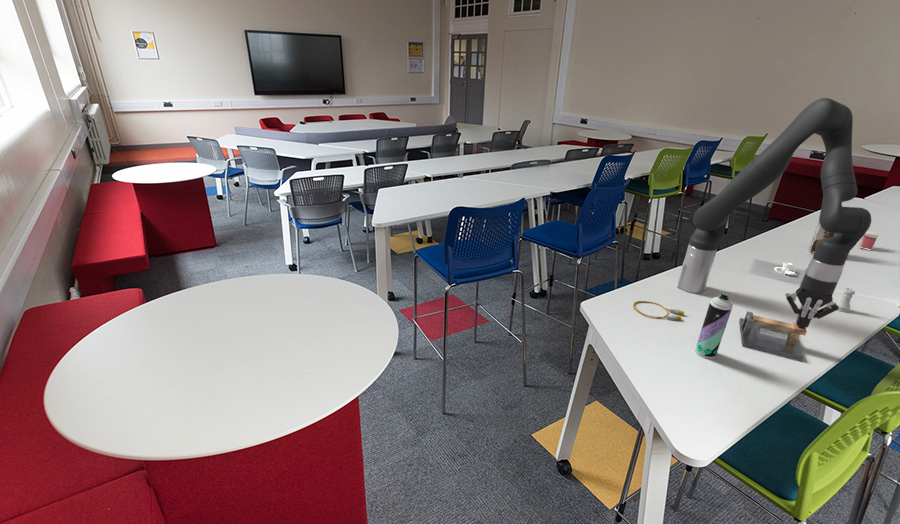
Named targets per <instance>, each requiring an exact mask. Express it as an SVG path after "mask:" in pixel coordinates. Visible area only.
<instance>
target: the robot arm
mask: <svg viewBox="0 0 900 524" xmlns="http://www.w3.org/2000/svg"><path fill="white" fill-rule="evenodd" d="M853 119H854V118H853V113H852V110H851V109H850V108H849V107H848V106H847V105H845V104H843V103H841V102H838V101H836V100H834V99H832V98H828V97H822V98H819V99H816V100H814V101H812V102H811V103H810V104H808V105H807V106H806V107H805V108H804V109H803V110H802V111H801V112H800V113H799V114H798V115H797V116H796V117H795V118H794V119H793V120H792V122H791V123H789V125H787V127H786V128H785V129H784V130H783V131H782V132H781V133H780V135H778V137H776V138H775V139H774V140H773V141H772V142H771V143H770V144H769V145H768V146H767V147H766V148H765V149H764V150H763V151H762V152H760V153H759V154H758V155H757V156H756V157H754V158H753V159H752V160H751V161H750V162H749V163H747V165H746V166H744V167H743V168H742V169H741V171H740V172H739V173H738V174H736V175H735V176H734V178H732V179H731V181H730V182H729V183H728V184H727V185H726V186H725V187H724V188H723V189H722V190H721V191H720V192H719V193H718V194H717V195H715V196H714V197H712V198H711V199H710V200H709V201H707V202H706V203H704V204H703V205H701V206H700V207H699V208H698V209H697V210H696V211H695V212H694V215H693V217H692V219H693V220H692V221H693V222H692V223H693V225H694V228H695V227H696V228H695V230H694V232H693V234H692V235H691V236H690V238H689V242H688V246H687V250H686V253H685V257H684V260H683V262H682V266H681V270H680V273H679V277H678V281H677V288H678V289H680V290H683V291H685V292H689V293H691V294H702V293H704V292H705V290H706V287H707V283H708V280H709V277H710V273H711V271H712V268H713V263H714V261H715V258H716V254H717V252H718V251H717V250H718V248H719V245H720V243H721V241H722V240H723V237H724V234H725V231H726V228H727V224H728V222H729V218H730V215H731V214H732V213H733V212H734V211H735V210H736V209H737V208H739V207H740V206H742V205H743V204H744V203H746V202H747V201H749V200H751V199H752V198H754V197H755V196H757V195H758V194H760V193H762V191H764V190H765V189H766V188H768V187H770V186H771V184H773V183H774V182H776V180H778V179H779V178H780V177H781V176H782V175H783V174H784V173H785V171H786V169H787V168H788V166H789V164H790V162H791V159H792V157H793V156H794V153H796V151H797V149H798V148H799V147H800V146H801V145H802V144H803V143H804V142H805V141H806V140H808V139H809V138H810V137H811V136H813V135H814V134H815V135H817V136H820V137H821V139H822V141H823V145H824V150H825V154H824V155H825V156H824V160H823V163H822V165H821V169H820V182H821V189H822V195H823V197H822V202H821V208H820V212H819V216H818V217H819V218H818V222H820V225H821V227H822V228H823V229H824V230H825V231H827V232H832V233H838V234H837V235H836V236H834V237H831V238H826V239H822V240H821V241H820V242H819V243H818V245H817V248H816V250H815V253H814V255H813V254H812V257H811V260H810V261H809V262H808V265H807V267H806V269H805V274H804V276H803V278H802V280H801V283H800V286H799V288H798V289H796V290H795V292H793V293H789V292H788V293H785V298H786V301H787V302H788V304H789V306H790V307H791V309H792V311H793V313H794V314H796V315H798V316H797V318H796V321H795V323H796V324H797V326H798V327H799V328H802V329H805V328H806V329H807V328H808V327H809V326H810V324H811V321H812V320H813V319H819V320H820V319H823V318H824V317H826V316H828V315H830V314H833V313H834V312H836V311H839V310H838V309H839V307H838V305H837V304H836V302H834V301H833V295H834V293H835V290H836V287H837V285H838V283H839V281H840V279H841V276H842V273H843V269H844V266H845V264H846V261H847V258H848V257H849V254H850V252H851V251H852V249H853V248H854V247H855V246H856V245H857V244H858V243H859V242H860V241H861V240H862V238H863V235H864V234H865V233H866V232H867V231H869V228H870V227H871V224H872V215H871V212H870V211H869V210H868V209H866V208H864V207H852V206H843V203H844V202H849V201H851V200H853V199H855V198H856V197H857V195H858V185H857V181H856V175H855V171H854V165H853V149H852V148H853V145H852V143H853V127H854V126H853V125H854V124H853V123H854V121H853ZM797 299H798V301H799V303H800V308H799V307H798V305H797V303H796V300H797Z"/></svg>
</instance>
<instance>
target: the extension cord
mask: <svg viewBox="0 0 900 524" xmlns="http://www.w3.org/2000/svg"><path fill="white" fill-rule="evenodd" d="M641 303H644V304H645V303H647V304H652V305H657V306H660V307H661V308H663V309H664V310H665V311H666V312H667V313H666V315H664V316H656V315H655V316H653V315H648V314H646V313H643V312H642V311H640V310H639V308H637V307H636V306H635V305H637V304H641ZM632 307H633V310H634V311H636V312H637V313H638V314H640V315H641V316H644V317H645V318H648V319H654V320H659V319H667V320H670V321H677V322H680V321H682V317H683V316H685V315H684V314H685V311H684V310H680V309H675V308H671V309H669V308H666V307H664V306H663V305H662V304H660V303H658V302H653V301H650V300H649V301H647V300H637V301H635V302H633V305H632ZM669 313H672V314H673V315H669ZM674 314H675V315H674Z"/></svg>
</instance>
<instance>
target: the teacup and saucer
mask: <svg viewBox="0 0 900 524" xmlns="http://www.w3.org/2000/svg"><path fill="white" fill-rule="evenodd" d="M777 268H779V269H781V271H779V270H778V269H777ZM792 268H793V263H791V262H789V261H784V262H783V263H782V267H781V266H780V267H779V266H777V267H774V268H773V270H774V271H775V272H777V273H779V274H781V273H780V272H783V271H784V272H783V273H784V275H785V274H787V275H786V276H790V275H791V276H797V275H796V273H797V272H796V271H795V272H796V273H795V272H792V271H790V269H791V270H792ZM776 269H777V270H778V271H779V272H778V271H777V270H776ZM791 276H790V277H791Z"/></svg>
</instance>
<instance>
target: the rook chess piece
mask: <svg viewBox="0 0 900 524" xmlns="http://www.w3.org/2000/svg"><path fill="white" fill-rule="evenodd" d="M842 291H843V293H842V296H841V298H840V299H839V300H838V301H836V302H835V303H836V304H837V305H838V307H839V309H838V310H837V311H839V310H840V311H839V312H842V311H844V313H848V312H850V310H851V299H852V298H853V295H856V293H855V291H856V290H855V289H853V288H850V287H846V288H845V289H843V290H842Z"/></svg>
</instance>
